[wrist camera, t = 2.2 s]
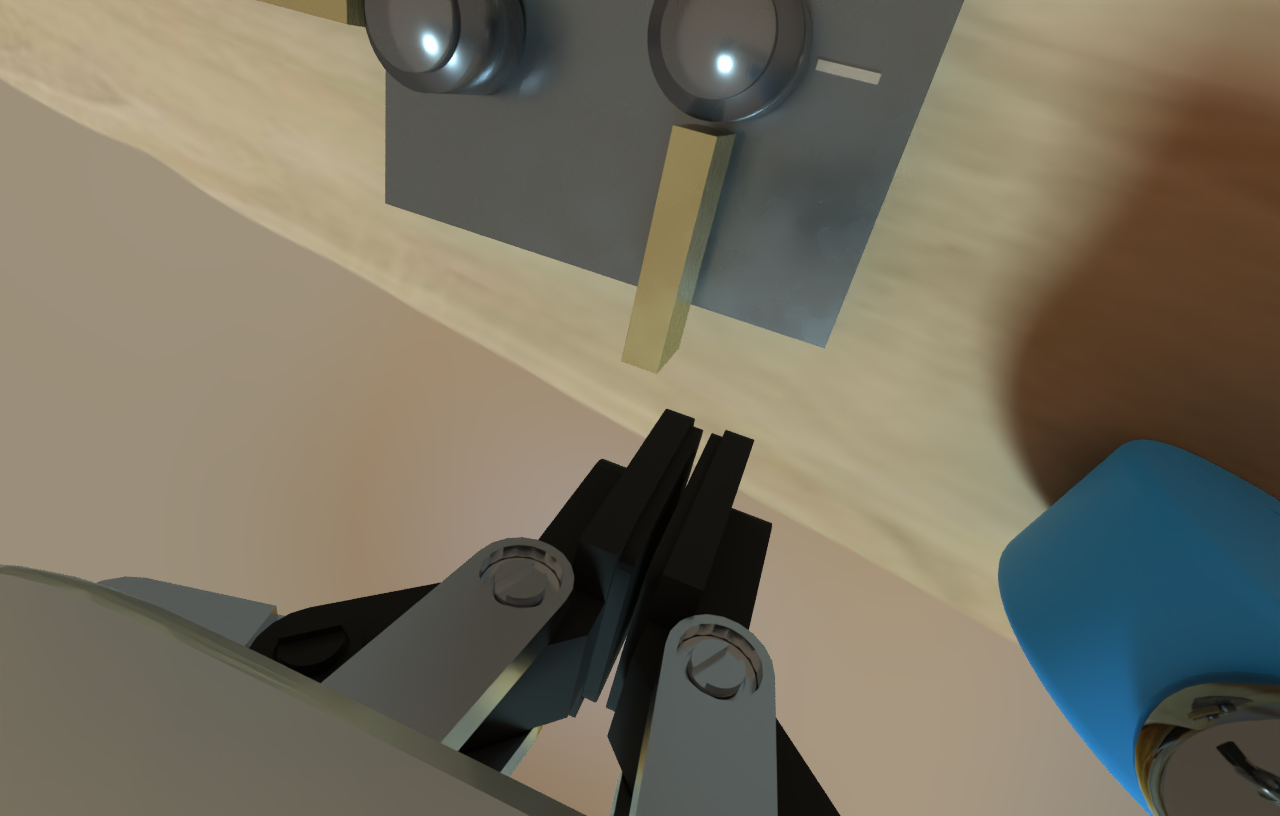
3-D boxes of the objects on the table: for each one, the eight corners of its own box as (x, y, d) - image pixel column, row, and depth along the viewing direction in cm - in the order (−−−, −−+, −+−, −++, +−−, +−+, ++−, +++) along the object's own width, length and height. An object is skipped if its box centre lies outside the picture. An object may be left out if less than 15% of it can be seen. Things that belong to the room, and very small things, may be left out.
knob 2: (695, -50, 19) (659, -81, 16) (833, -22, 18) (823, -49, 15) (617, 321, 25) (581, 349, 22) (717, 355, 24) (694, 390, 21)
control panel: (983, -57, 18) (1009, -99, 15) (828, 332, 25) (818, 370, 21) (423, -161, 22) (332, -215, 19) (414, 198, 29) (345, 210, 25)
